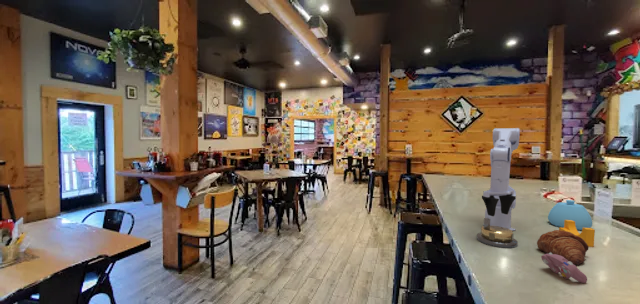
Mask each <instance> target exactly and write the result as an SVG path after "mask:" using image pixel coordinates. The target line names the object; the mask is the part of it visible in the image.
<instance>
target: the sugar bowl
mask: <svg viewBox="0 0 640 304" xmlns="http://www.w3.org/2000/svg"><path fill="white" fill-rule="evenodd" d="M564 220H572V221H575V226H576V229H577V231H582V229H583V228H592V227H593V219H592V216H591V215H590V213H589V211H588V210H587V209H586V207H585V206H584V205H582V204H579V203H576V201H575V200H573V199H566V200H565V202H562V201H561V202H557V203H556V204H555V205H553V207H552V208H551V209H550V210H549V212H548V216H547V221H548V222H549V223H551V225H552V226H554V227H555V226H556V227H558V228H559V227H560V228H564Z"/></svg>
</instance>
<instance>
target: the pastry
mask: <svg viewBox="0 0 640 304" xmlns="http://www.w3.org/2000/svg"><path fill="white" fill-rule="evenodd" d="M536 246H537V248H538V250H539V251H540V252H543V253H544V254H547V253H548V254H549V253H552V254H556V255H560V256H562V257H564V258H565V259H567V260H568V261H570V262H572V263H573V264H574V265H575V266H576V267H578V266H580V265H582V264H583V263H584V262H585V261H586V257H585V256H586V254H587V252H588V251H589V247H588V245H587V243H586V242H585V241H584V240H583V239H582V238H580V237H579V236H576V235H574V234H573V233H571V232H567V231H562V230H559V229H558V230H557V229H554V230H551V231H548V232H545V233H543V234H541V235H540V236H539V238H538V239H537V241H536Z"/></svg>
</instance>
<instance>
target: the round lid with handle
mask: <svg viewBox="0 0 640 304" xmlns="http://www.w3.org/2000/svg"><path fill="white" fill-rule="evenodd" d="M483 224H484V225H482V226H481V228H480V233H481V236H482V237H484V238H486V239H488V240H492V241H496V242H512V241H513V239H515V238H514V235H515V233H514V231H512V230H510V229H507V228H504V227H499V226H490V219H489V218H485V217H483Z"/></svg>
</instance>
